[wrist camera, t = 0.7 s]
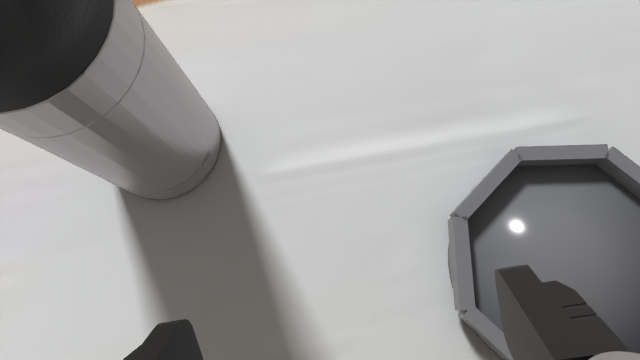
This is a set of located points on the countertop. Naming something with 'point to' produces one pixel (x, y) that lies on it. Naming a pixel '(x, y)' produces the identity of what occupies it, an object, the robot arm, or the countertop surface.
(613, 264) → the saucer
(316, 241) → the countertop surface
